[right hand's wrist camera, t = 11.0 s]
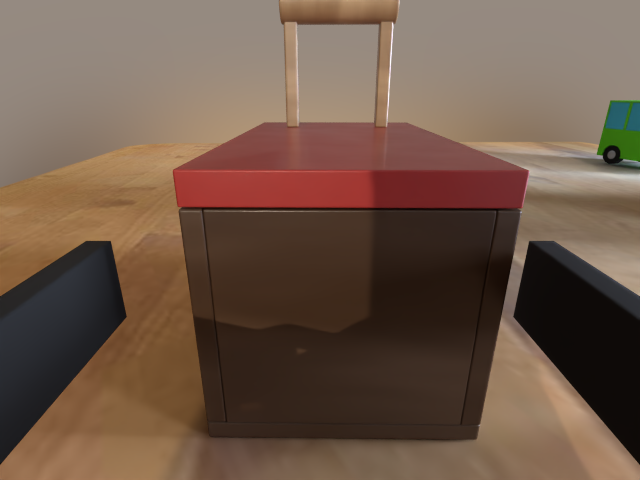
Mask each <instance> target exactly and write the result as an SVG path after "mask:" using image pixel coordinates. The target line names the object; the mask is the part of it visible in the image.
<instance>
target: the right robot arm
mask: <svg viewBox="0 0 640 480" xmlns="http://www.w3.org/2000/svg"><path fill="white" fill-rule="evenodd" d="M126 317H127V316H126V312H125V307H124V302H123V297H122V293H121V288H120V283H119V278H118V274H117V269H116V264H115V259H114V255H113V250H112V245H111V241H86V242H84V243H83V244H81V245H79V246H78V247H76V248H75V249H73V250H72V251H70V252H69V253H67V254H65V255H64V256H62V257H61V258H59V259H58V260H56V261H55V262H53V263H51V264H50V265H48V266H47V267H45V268H44V269H42V270H41V271H39V272H38V273H36V274H34V275H33V276H31V277H30V278H28V279H27V280H25V281H24V282H22V283H20V284H19V285H17V286H16V287H14V288H13V289H11V290H10V291H8V292H6V293H5V294H3V295H2V296H0V464H1V463H2V462H3V461H4V460H5V458H6V457H7V456H8V455H9V454H10V453H11V451H12V450H13V449H14V448H15V447H16V446H17V444H18V443H19V442H20V441H21V440H22V439H23V437H24V436H25V435H26V434H27V433H28V432H29V430H30V429H31V428H32V427H33V426H34V425H35V423H36V422H37V421H38V420H39V419H40V417H41V416H42V415H43V414H44V413H45V412H46V410H47V409H48V408H49V407H50V406H51V405H52V403H53V402H54V401H55V400H56V399H57V398H58V396H59V395H60V394H61V393H62V392H63V391H64V389H65V388H66V387H67V386H68V385H69V384H70V382H71V381H72V380H73V379H74V378H75V377H76V375H77V374H78V373H79V372H80V371H81V370H82V368H83V367H84V366H85V365H86V364H87V363H88V361H89V360H90V359H91V358H92V357H93V355H94V354H95V353H96V352H97V351H98V350H99V348H100V347H101V346H102V345H103V344H104V343H105V341H106V340H107V339H108V338H109V337H110V336H111V334H112V333H113V332H114V331H115V330H116V329H117V327H118V326H119V325H120V324H121V323H122V322H123V320H124V319H125V318H126ZM513 317H514V318H515V319H516V320H517V322H518V323H519V324H520V325H521V326H522V327H523V329H524V330H525V331H526V332H527V333H528V334H529V336H530V337H531V338H532V339H533V340H534V341H535V343H536V344H537V345H538V346H539V347H540V348H541V350H542V351H543V352H544V353H545V354H546V355H547V357H548V358H549V359H550V360H551V361H552V363H553V364H554V365H555V366H556V367H557V368H558V370H559V371H560V372H561V373H562V374H563V375H564V377H565V378H566V379H567V380H568V381H569V382H570V384H571V385H572V386H573V387H574V388H575V389H576V391H577V392H578V393H579V394H580V395H581V396H582V398H583V399H584V400H585V401H586V402H587V403H588V405H589V406H590V407H591V408H592V409H593V410H594V412H595V413H596V414H597V415H598V416H599V417H600V419H601V420H602V421H603V422H604V423H605V425H606V426H607V427H608V428H609V429H610V430H611V432H612V433H613V434H614V435H615V436H616V437H617V439H618V440H619V441H620V442H621V443H622V444H623V446H624V447H625V448H626V449H627V450H628V451H629V453H630V454H631V455H632V456H633V457H634V458H635V460H636V461H637V462H638V463H639V464H640V296H638V295H637V294H635V293H634V292H632V291H630V290H629V289H627V288H626V287H624V286H623V285H621V284H620V283H618V282H616V281H615V280H613V279H612V278H610V277H609V276H607V275H606V274H604V273H602V272H601V271H599V270H598V269H596V268H595V267H593V266H592V265H590V264H589V263H587V262H585V261H584V260H582V259H581V258H579V257H578V256H576V255H575V254H573V253H571V252H570V251H568V250H567V249H565V248H564V247H562V246H561V245H559V244H557V243H556V242H554V241H529V245H528V250H527V255H526V259H525V264H524V269H523V274H522V278H521V283H520V288H519V293H518V297H517V302H516V307H515V312H514V316H513Z"/></svg>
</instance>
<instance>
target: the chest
mask: <svg viewBox="0 0 640 480" xmlns="http://www.w3.org/2000/svg"><path fill="white" fill-rule="evenodd" d="M179 217H180V224H181V232H182V239H183V246H184V254H185V261H186V268H187V276H188V283H189V290H190V297H191V305H192V312H193V319H194V327H195V334H196V341H197V349H198V356H199V363H200V370H201V378H202V385H203V392H204V400H205V407H206V414H207V421H208V429H209V435H210V436H214V437H302V438H390V439H477V436H478V431H479V425H480V422H481V417H482V412H483V407H484V401H485V396H486V391H487V386H488V381H489V376H490V371H491V366H492V361H493V356H494V351H495V345H496V340H497V335H498V330H499V325H500V320H501V315H502V310H503V305H504V300H505V295H506V289H507V284H508V279H509V274H510V269H511V264H512V259H513V254H514V249H515V244H516V238H517V233H518V228H519V223H520V218H521V210H519V209H509V208H261V207H182V208H181V209H179Z"/></svg>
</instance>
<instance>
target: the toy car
mask: <svg viewBox="0 0 640 480" xmlns="http://www.w3.org/2000/svg"><path fill="white" fill-rule="evenodd" d="M597 155H603V159H604V161H605V162H606V163H608V164H614V163H619V162H621V161H622V160H623V159H627V160H633V161H638V162H640V100H618V101H610V105H609V109H608V112H607V116H606V120H605V124H604V128H603V132H602V136H601V140H600V144H599V148H598V152H597Z"/></svg>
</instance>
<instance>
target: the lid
mask: <svg viewBox="0 0 640 480" xmlns="http://www.w3.org/2000/svg"><path fill="white" fill-rule="evenodd" d="M399 3H400V0H279V10H280V19H281V23H282V24H283V25H284V45H285V79H286V112H287V123H263V124H261V125H259V126H257V127H255V128H253V129H251V130H249V131H247V132H245V133H243V134H242V135H239V136H238V137H236V138H234V139H232V140H230V141H228V142H226V143H224V144H222V145H220V146H218V147H216V148H214V149H212V150H210V151H209V152H207V153H205V154H203V155H201V156H199V157H197V158H195V159H193V160H191V161H189V162H187V163H185V164H183V165H181V166H179V167H178V168H176V169H174V170H173V176H174V184H175V191H176V198H177V205H178V207H261V208H509V209H520V208H522V207H523V203H524V198H525V193H526V188H527V183H528V178H529V170H526V169H524V168H521V167H518V166H516V165H513V164H511V163H508V162H506V161H503V160H501V159H498V158H495V157H493V156H490V155H488V154H485V153H483V152H480V151H478V150H475V149H472V148H470V147H467V146H465V145H462V144H460V143H457V142H454V141H452V140H449V139H447V138H444V137H442V136H439V135H437V134H434V133H432V132H429V131H426V130H424V129H421V128H419V127H416V126H414V125H411V124H409V123H387V120H388V103H389V86H390V70H391V53H392V37H393V24H395V23H396V20H397V17H398V11H399ZM322 24H323V25H326V24H327V25H329V24H330V25H331V24H332V25H334V24H379V35H378V56H377V77H376V97H375V118H374V123H299V82H298V28H297V25H322Z"/></svg>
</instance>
